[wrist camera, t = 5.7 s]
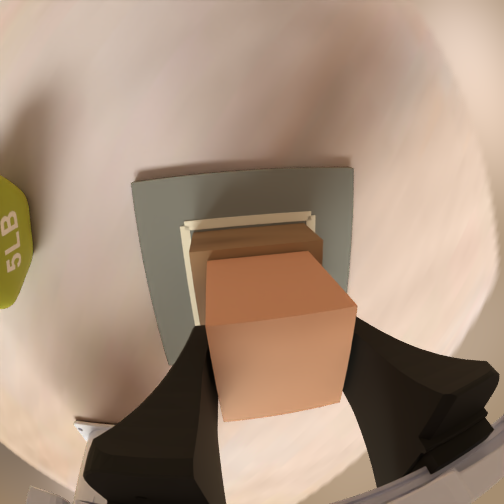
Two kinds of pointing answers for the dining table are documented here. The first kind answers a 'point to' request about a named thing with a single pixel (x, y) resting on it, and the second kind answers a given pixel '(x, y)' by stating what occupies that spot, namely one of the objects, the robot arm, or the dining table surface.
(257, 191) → the grey square base plate
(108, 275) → the dining table surface
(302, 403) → the top block
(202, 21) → the dining table surface
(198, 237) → the base block
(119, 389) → the dining table surface
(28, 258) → the dumbbell
